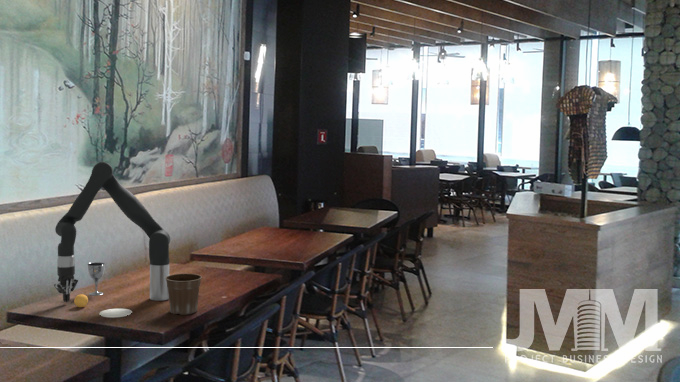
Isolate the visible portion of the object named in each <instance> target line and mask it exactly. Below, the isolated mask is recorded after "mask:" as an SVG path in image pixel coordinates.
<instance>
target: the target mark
mask: <svg viewBox="0 0 680 382" xmlns="http://www.w3.org/2000/svg"><path fill="white" fill-rule="evenodd" d="M131 313H132V314H133V311H132V309H128V308H110V309H109V308H108V309H105V310H104V309H103V310H101V311H100V312H99V316H100V315H101V317H102V318H123V317H127V315H128V316H130V315H131Z"/></svg>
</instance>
